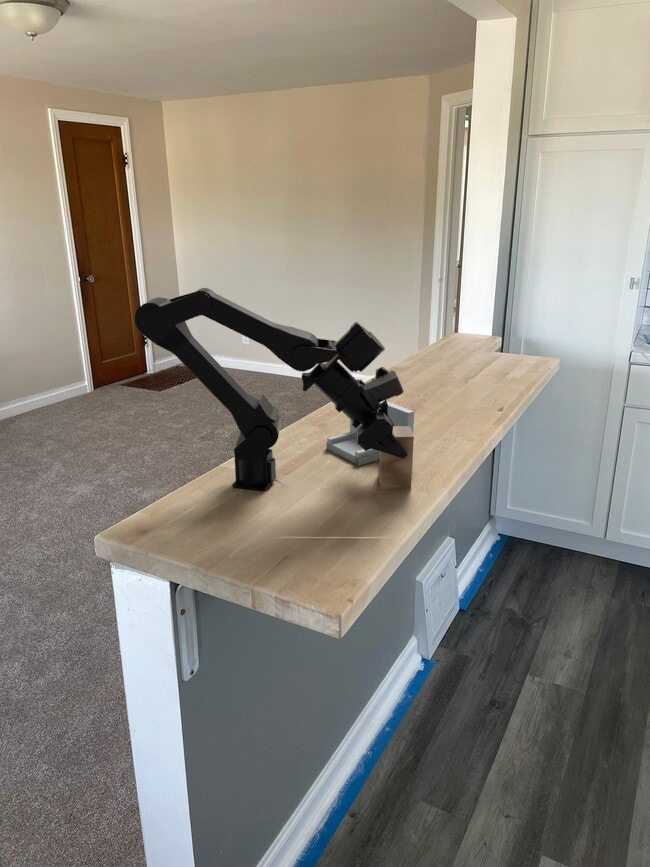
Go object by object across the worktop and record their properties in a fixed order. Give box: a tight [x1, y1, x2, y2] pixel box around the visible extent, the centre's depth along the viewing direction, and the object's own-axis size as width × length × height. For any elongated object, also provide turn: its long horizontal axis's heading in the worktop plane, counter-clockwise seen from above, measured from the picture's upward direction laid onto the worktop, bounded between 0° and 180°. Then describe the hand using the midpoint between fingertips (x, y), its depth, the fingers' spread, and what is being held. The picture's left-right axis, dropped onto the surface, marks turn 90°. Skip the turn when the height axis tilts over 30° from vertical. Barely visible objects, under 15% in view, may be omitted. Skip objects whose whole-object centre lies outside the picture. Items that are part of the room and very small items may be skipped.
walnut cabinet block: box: [377, 426, 415, 490], centre depth 116 cm, size 6×6×10 cm
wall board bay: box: [325, 401, 415, 467], centre depth 131 cm, size 11×18×10 cm, turn 36°
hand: (403, 448), depth 116 cm, fingers open, 7 cm apart
